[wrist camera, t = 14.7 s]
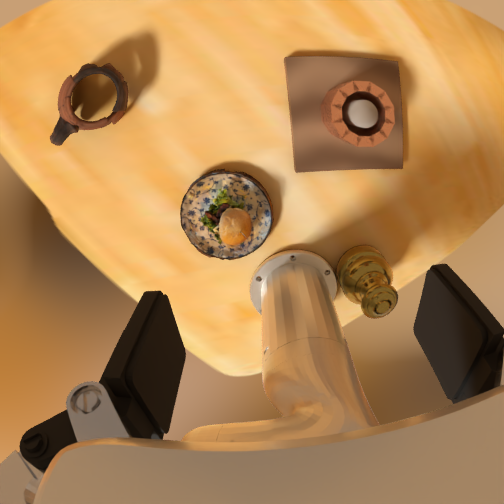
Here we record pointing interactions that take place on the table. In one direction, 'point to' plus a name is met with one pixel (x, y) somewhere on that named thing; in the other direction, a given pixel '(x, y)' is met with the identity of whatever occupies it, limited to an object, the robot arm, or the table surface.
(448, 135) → the table surface
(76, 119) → the pottery mug
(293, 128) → the post stand
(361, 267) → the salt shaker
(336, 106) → the ring
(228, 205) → the burger
